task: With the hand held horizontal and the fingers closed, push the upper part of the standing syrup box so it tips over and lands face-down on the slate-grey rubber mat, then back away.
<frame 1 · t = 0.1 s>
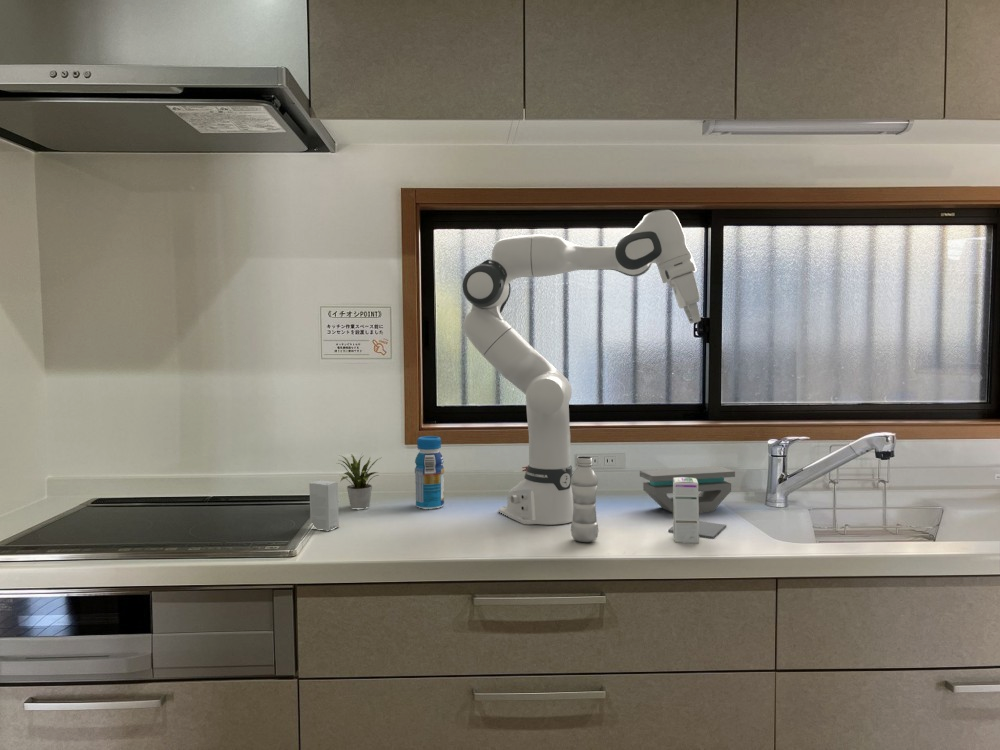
hand: (695, 322, 170), 52 cm above the worktop, tool tilted 20°, fingers open, 8 cm apart
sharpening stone: (686, 510, 188), on the worktop
plastic bottle: (584, 541, 159), on the worktop
beverage bottle: (429, 507, 193), on the worktop
house plant: (355, 508, 192), on the worktop
skincare box: (324, 529, 171), on the worktop
syrup box: (685, 540, 160), on the worktop
mat: (697, 529, 168), on the worktop
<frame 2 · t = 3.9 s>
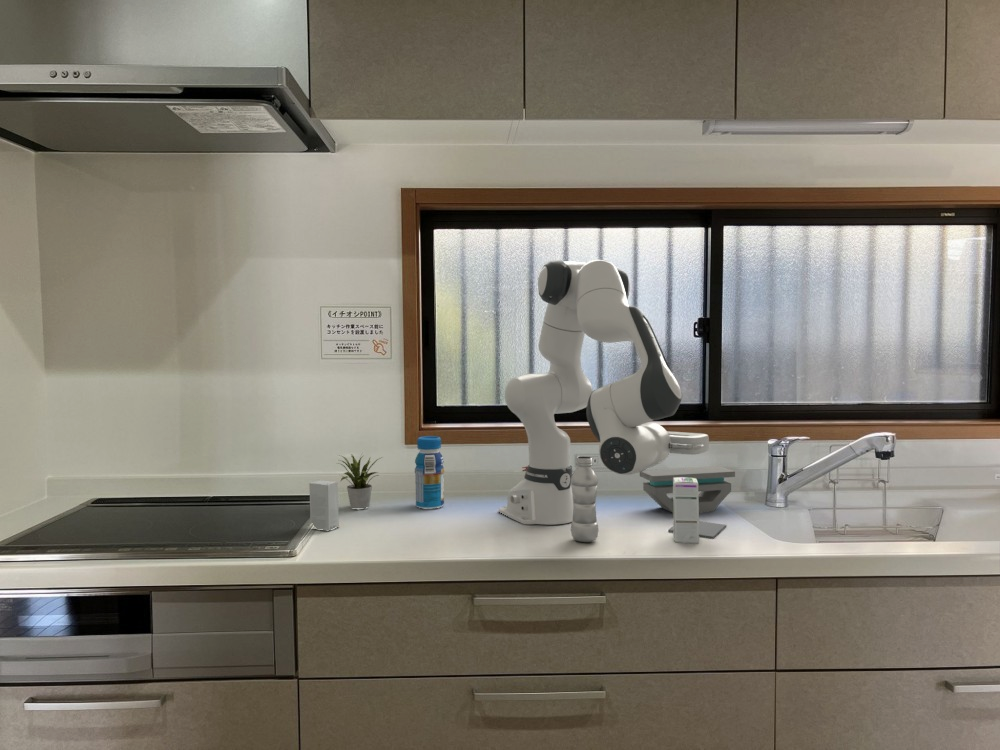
hand: (670, 436, 148), 26 cm above the worktop, tool horizontal, fingers closed
nothing on the worktop moved.
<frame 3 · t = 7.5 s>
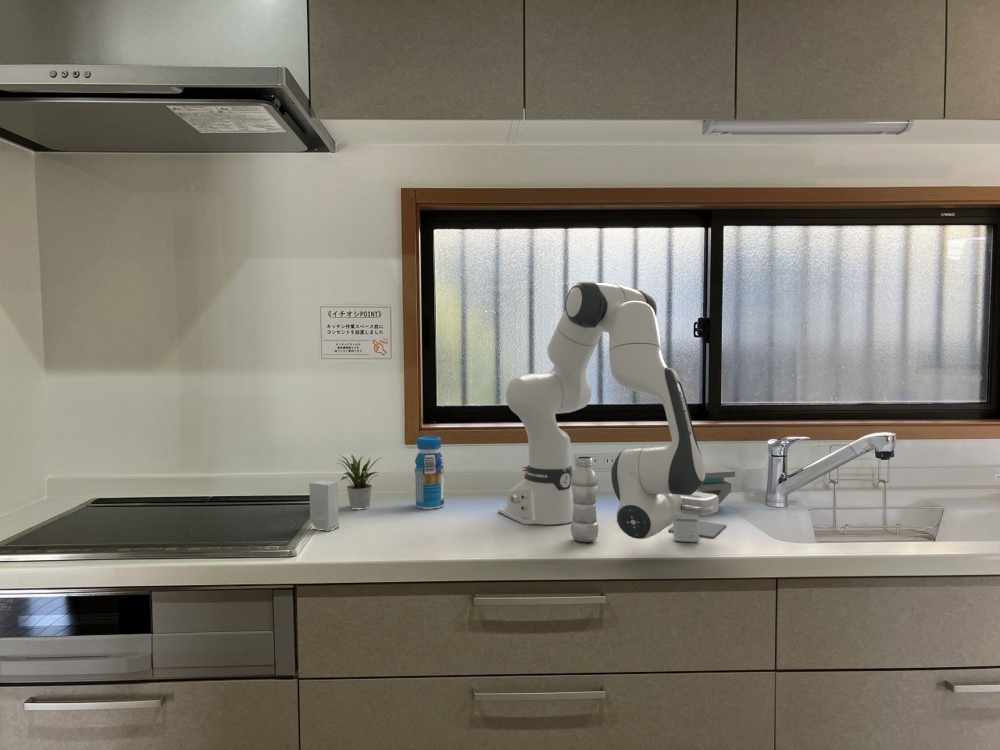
hand: (681, 492, 157), 12 cm above the worktop, tool horizontal, fingers closed
nothing on the worktop moved.
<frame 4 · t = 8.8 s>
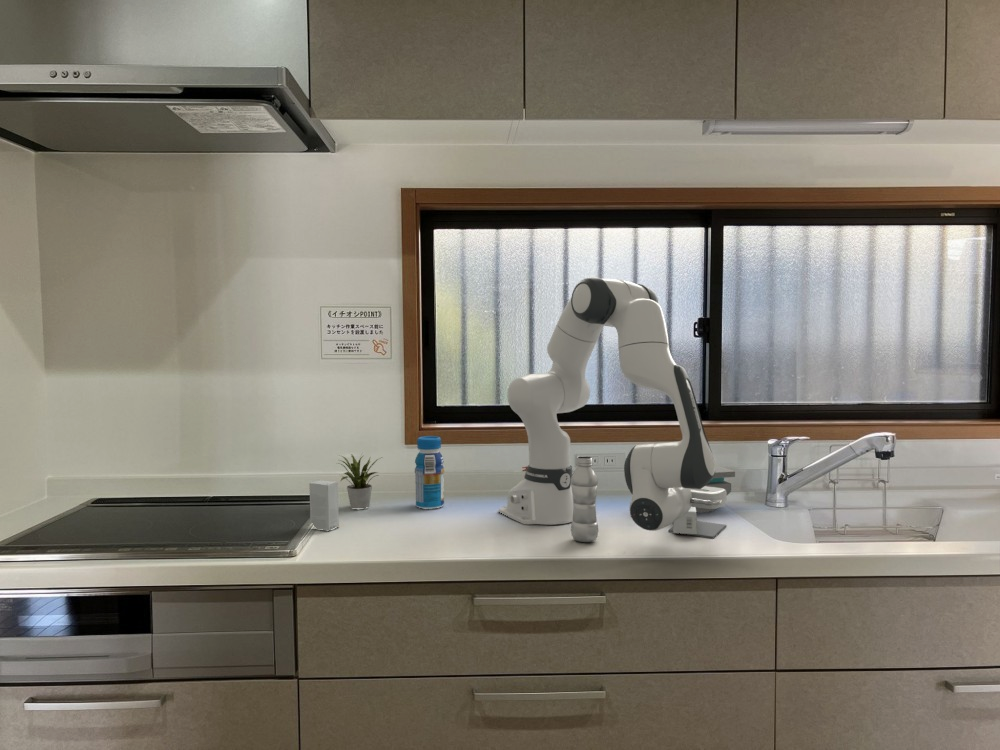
hand: (690, 487, 162), 12 cm above the worktop, tool horizontal, fingers closed
syrup box: (684, 522, 162), point 3 cm above the worktop, touching mat
everything else where it was.
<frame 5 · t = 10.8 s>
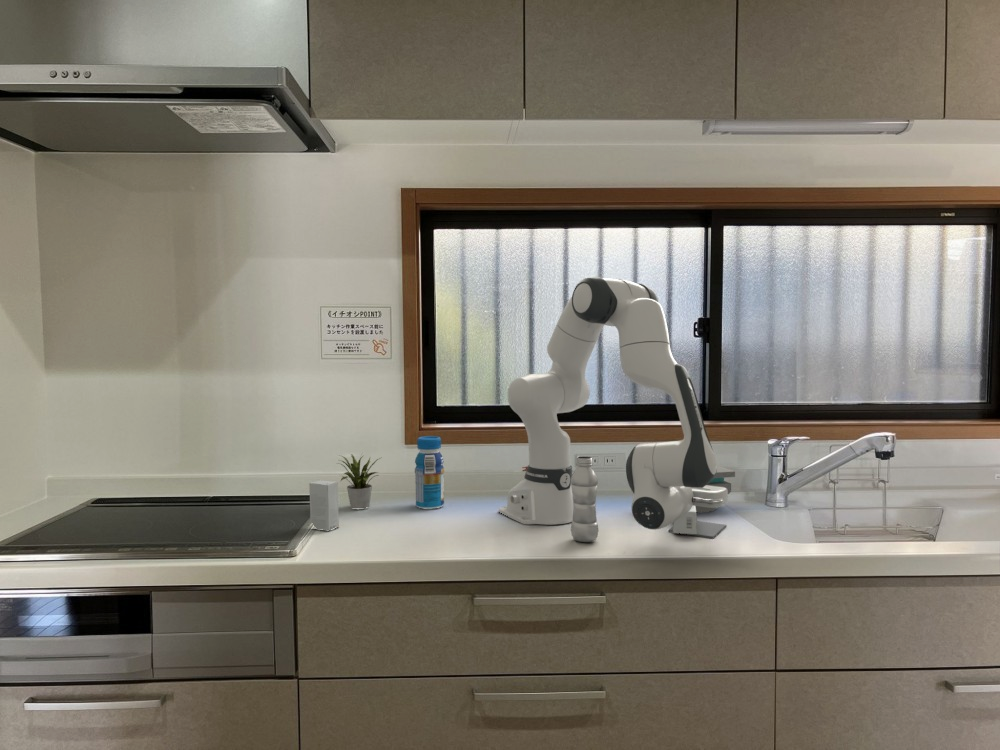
hand: (691, 486, 163), 12 cm above the worktop, tool horizontal, fingers closed
nothing on the worktop moved.
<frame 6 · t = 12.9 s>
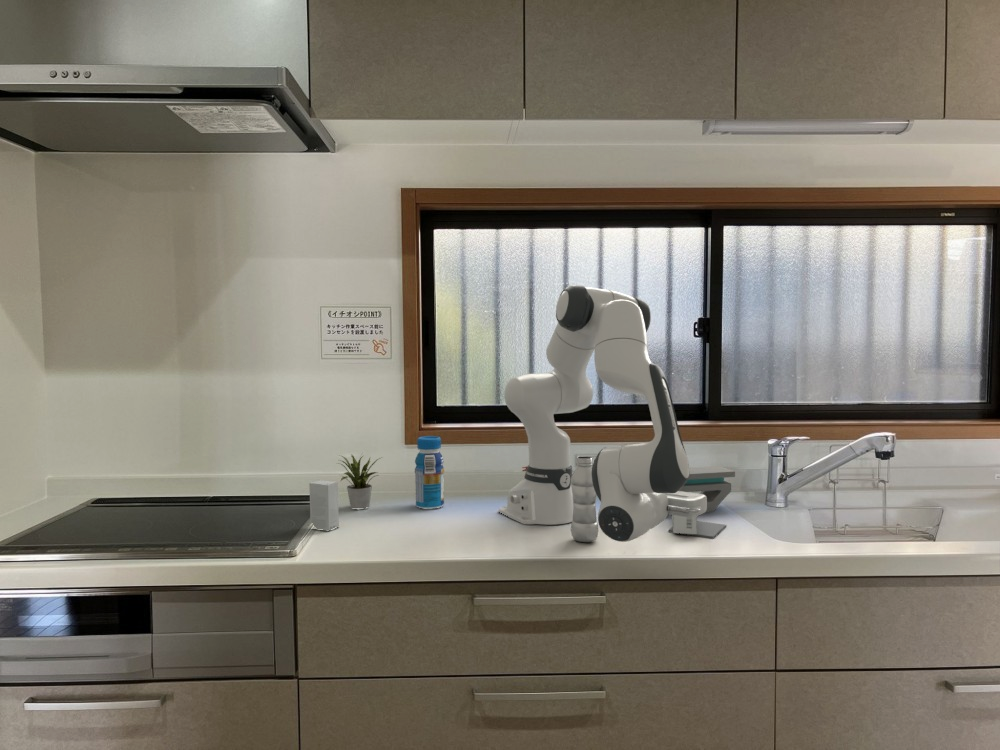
hand: (668, 491, 149), 14 cm above the worktop, tool horizontal, fingers closed
nothing on the worktop moved.
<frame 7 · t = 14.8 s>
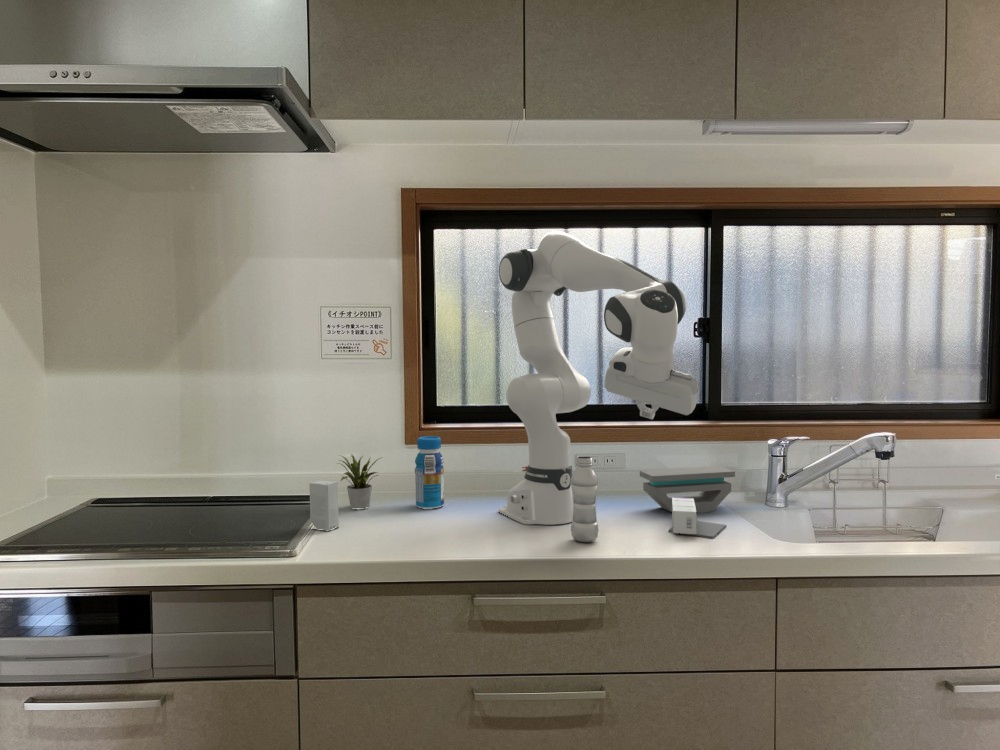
hand: (647, 416, 150), 30 cm above the worktop, tool tilted 30°, fingers closed
nothing on the worktop moved.
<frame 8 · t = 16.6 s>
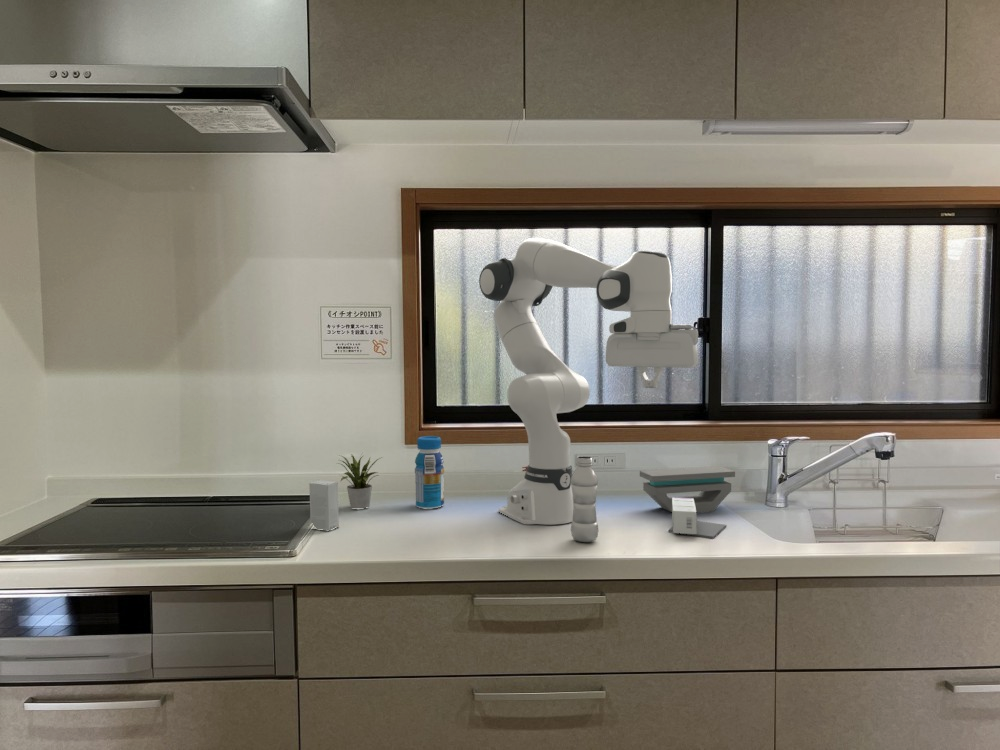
hand: (650, 387, 147), 37 cm above the worktop, tool pointing down, fingers closed
nothing on the worktop moved.
at the end: syrup box tilted 90°; syrup box 7.9 cm from the mat (horizontally) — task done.
